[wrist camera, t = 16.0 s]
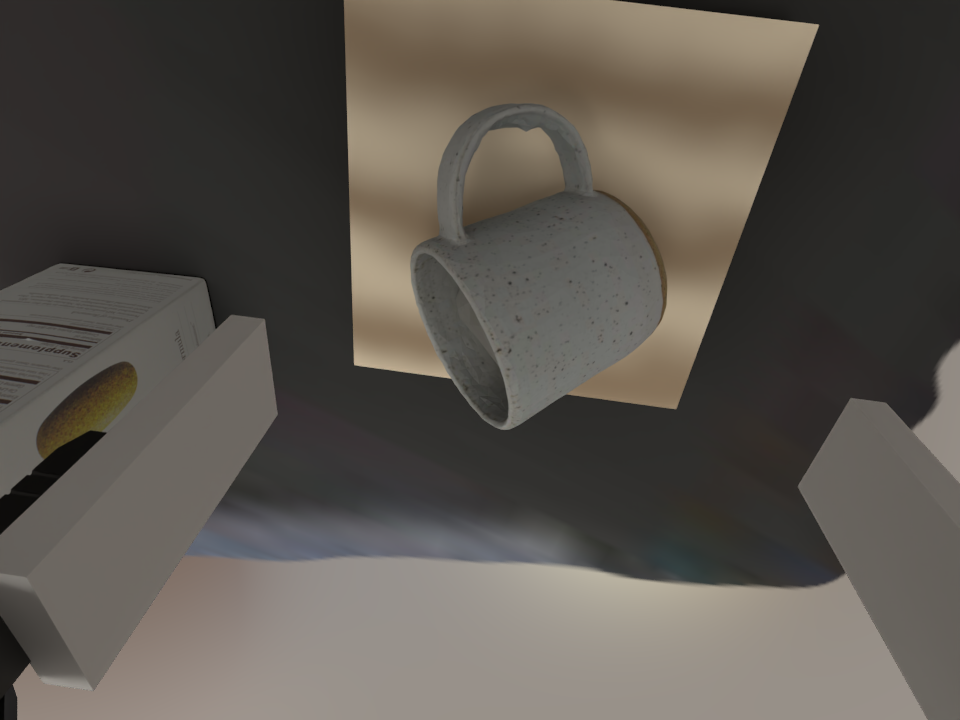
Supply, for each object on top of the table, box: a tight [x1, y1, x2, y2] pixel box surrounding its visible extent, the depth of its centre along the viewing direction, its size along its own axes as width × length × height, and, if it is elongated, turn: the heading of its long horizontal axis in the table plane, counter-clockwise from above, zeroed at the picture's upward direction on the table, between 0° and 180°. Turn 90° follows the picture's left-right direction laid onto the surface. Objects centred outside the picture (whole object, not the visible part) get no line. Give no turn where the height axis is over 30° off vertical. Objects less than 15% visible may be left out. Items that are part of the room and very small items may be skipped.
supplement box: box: [0, 263, 216, 498], centre depth 27 cm, size 10×9×17 cm
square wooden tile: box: [344, 0, 819, 409], centre depth 26 cm, size 18×18×3 cm
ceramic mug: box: [410, 103, 667, 430], centre depth 20 cm, size 11×8×8 cm
